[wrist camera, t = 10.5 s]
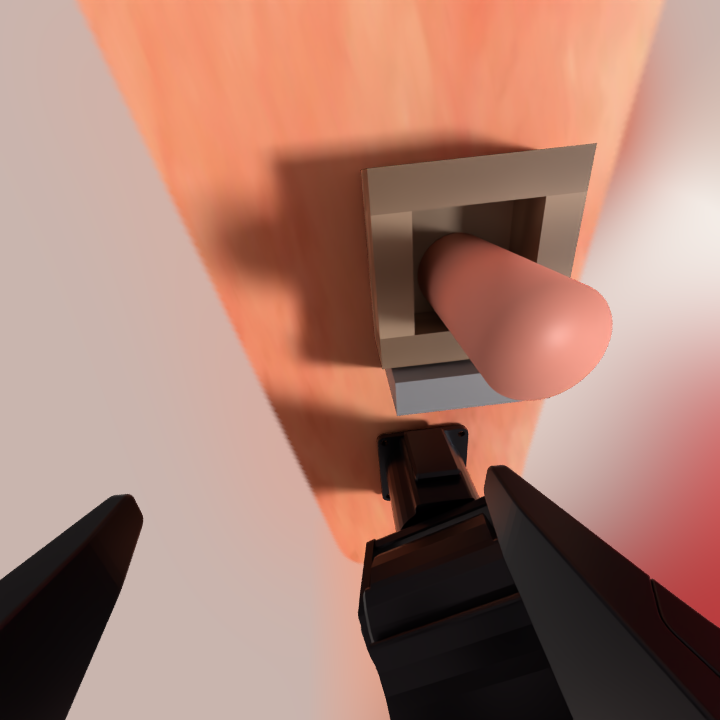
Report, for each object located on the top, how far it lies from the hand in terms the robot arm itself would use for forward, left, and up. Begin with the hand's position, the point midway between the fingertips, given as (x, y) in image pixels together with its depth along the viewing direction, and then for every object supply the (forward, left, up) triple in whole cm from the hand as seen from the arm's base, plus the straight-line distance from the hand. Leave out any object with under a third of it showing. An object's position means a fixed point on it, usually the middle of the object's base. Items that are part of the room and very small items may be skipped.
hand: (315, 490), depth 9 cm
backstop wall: (-3, -7, -13) cm, 15 cm away
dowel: (+2, -7, -12) cm, 14 cm away
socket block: (+3, -7, -13) cm, 15 cm away
